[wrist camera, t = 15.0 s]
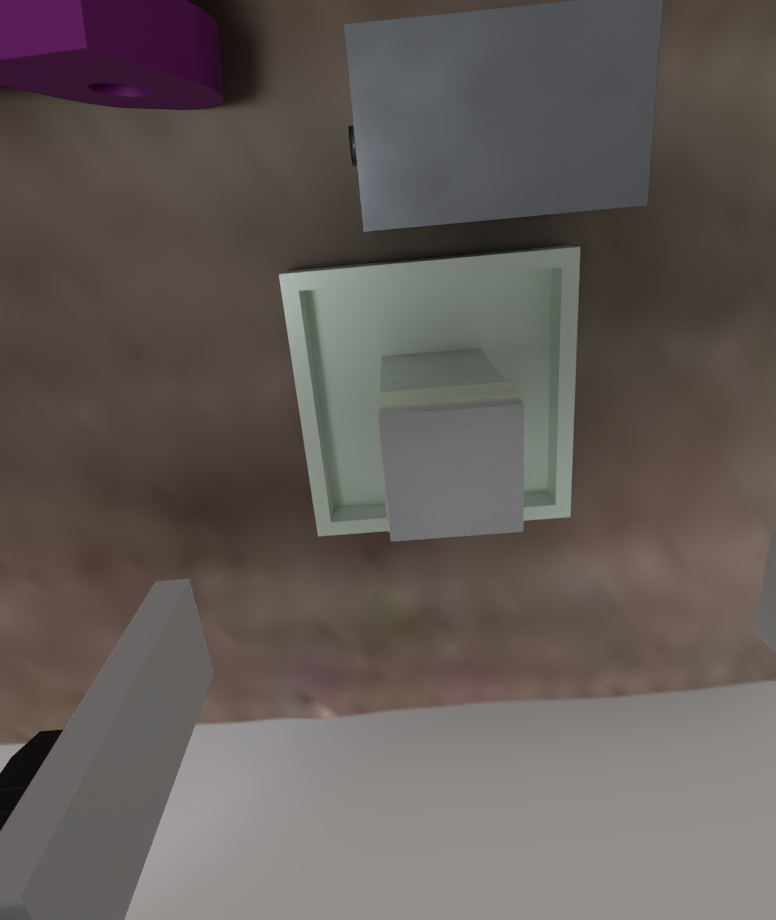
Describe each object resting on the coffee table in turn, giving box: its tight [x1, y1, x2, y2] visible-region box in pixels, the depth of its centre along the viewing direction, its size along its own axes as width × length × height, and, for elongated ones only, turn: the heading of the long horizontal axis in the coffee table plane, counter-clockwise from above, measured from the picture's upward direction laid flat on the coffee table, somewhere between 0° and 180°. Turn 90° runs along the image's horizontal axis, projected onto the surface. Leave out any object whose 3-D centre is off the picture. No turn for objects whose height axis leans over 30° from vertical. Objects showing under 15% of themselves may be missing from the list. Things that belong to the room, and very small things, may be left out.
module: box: [376, 348, 524, 542], centre depth 25 cm, size 5×5×10 cm
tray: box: [279, 245, 580, 536], centre depth 29 cm, size 14×14×2 cm
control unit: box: [344, 0, 663, 232], centre depth 22 cm, size 10×6×10 cm, turn 95°
